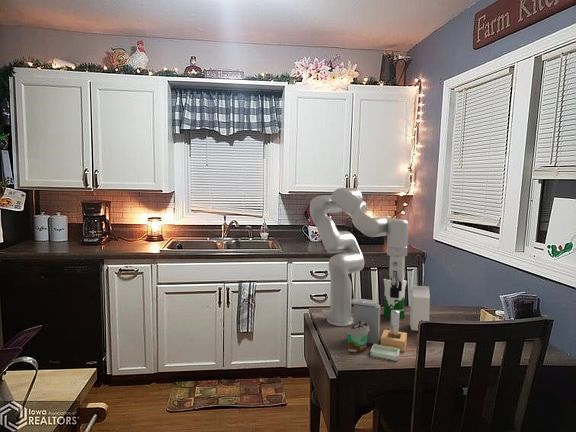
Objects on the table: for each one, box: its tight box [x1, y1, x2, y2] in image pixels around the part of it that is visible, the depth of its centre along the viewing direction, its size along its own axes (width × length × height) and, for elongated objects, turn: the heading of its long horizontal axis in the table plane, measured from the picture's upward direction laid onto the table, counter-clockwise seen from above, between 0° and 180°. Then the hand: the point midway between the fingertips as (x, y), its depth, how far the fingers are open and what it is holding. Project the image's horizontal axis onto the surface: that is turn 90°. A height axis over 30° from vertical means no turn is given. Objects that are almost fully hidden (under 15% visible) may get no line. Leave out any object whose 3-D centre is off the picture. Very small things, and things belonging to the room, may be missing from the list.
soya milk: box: [382, 273, 408, 320], centre depth 183 cm, size 9×9×20 cm
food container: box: [346, 319, 370, 354], centre depth 148 cm, size 12×6×10 cm, turn 148°
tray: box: [369, 344, 401, 362], centre depth 145 cm, size 10×7×2 cm
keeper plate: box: [351, 297, 379, 307], centre depth 156 cm, size 10×4×1 cm, turn 67°
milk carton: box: [409, 285, 431, 332], centre depth 169 cm, size 7×7×19 cm
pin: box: [389, 310, 400, 339], centre depth 152 cm, size 3×3×14 cm
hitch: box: [352, 304, 408, 353], centre depth 154 cm, size 20×9×15 cm, turn 67°
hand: (395, 294), depth 151 cm, fingers open, 9 cm apart
